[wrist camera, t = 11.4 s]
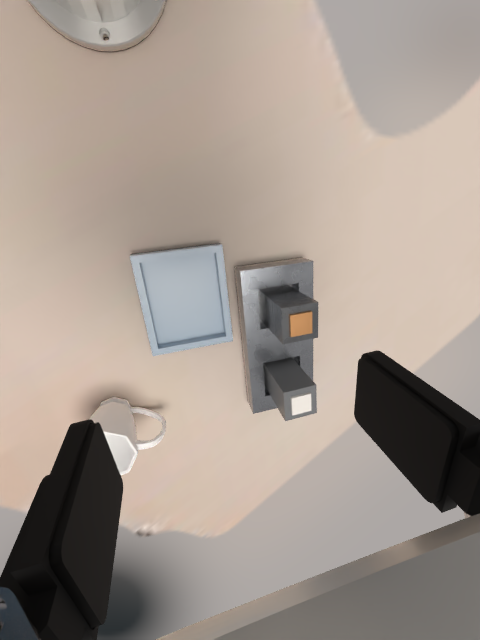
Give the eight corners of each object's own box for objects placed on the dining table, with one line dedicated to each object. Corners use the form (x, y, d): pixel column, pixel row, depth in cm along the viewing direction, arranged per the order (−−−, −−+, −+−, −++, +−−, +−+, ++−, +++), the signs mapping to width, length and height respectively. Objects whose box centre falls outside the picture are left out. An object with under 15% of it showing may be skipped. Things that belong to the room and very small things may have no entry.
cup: (82, 390, 36) (61, 435, 29) (165, 384, 38) (165, 424, 31) (89, 435, 38) (70, 487, 31) (166, 427, 41) (166, 473, 33)
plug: (261, 359, 40) (284, 394, 32) (288, 353, 40) (317, 386, 33) (264, 384, 41) (286, 422, 33) (290, 378, 42) (317, 414, 34)
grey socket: (234, 266, 35) (256, 283, 27) (302, 257, 37) (342, 270, 28) (247, 400, 43) (268, 447, 34) (303, 387, 44) (336, 429, 36)
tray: (131, 254, 32) (129, 256, 30) (219, 243, 34) (222, 244, 32) (153, 349, 36) (152, 356, 35) (230, 335, 38) (233, 340, 37)
